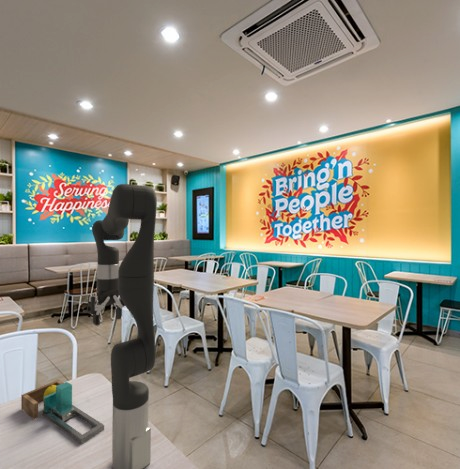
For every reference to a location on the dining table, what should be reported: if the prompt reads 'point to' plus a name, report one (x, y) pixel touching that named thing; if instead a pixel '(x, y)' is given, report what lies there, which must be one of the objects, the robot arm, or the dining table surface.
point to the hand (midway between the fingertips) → (107, 321)
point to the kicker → (60, 402)
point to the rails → (71, 431)
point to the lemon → (49, 391)
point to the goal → (35, 399)
